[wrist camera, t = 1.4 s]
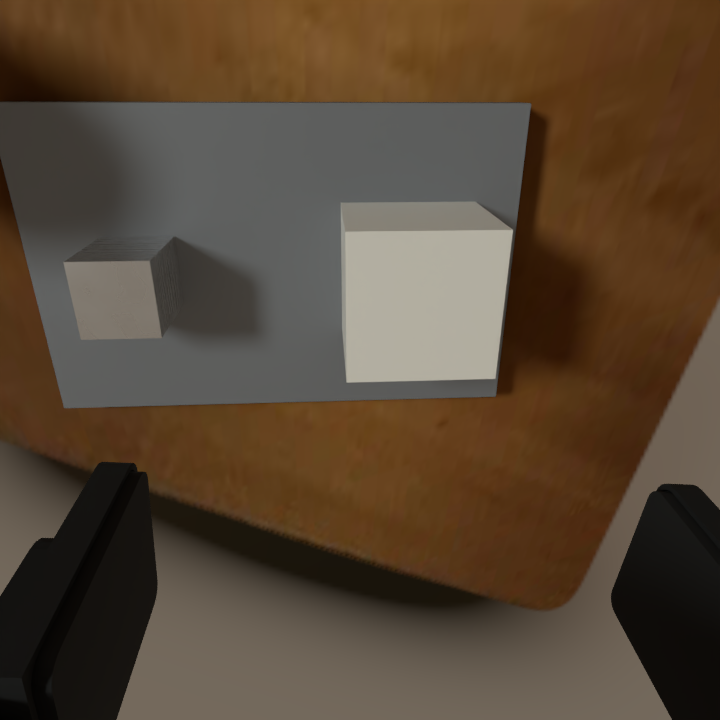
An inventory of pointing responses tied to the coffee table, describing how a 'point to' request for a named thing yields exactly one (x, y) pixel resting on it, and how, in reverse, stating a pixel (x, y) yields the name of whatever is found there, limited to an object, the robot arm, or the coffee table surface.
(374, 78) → the coffee table surface
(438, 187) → the board
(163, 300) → the small white block
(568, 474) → the coffee table surface
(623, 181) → the coffee table surface
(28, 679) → the robot arm
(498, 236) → the cream foam cube
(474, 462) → the coffee table surface
